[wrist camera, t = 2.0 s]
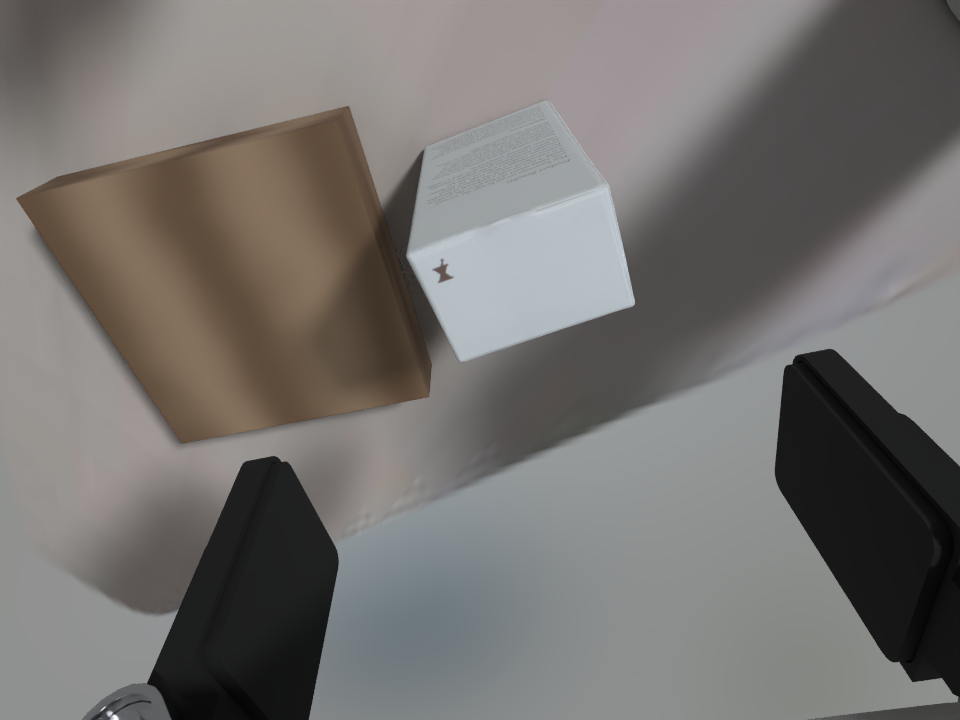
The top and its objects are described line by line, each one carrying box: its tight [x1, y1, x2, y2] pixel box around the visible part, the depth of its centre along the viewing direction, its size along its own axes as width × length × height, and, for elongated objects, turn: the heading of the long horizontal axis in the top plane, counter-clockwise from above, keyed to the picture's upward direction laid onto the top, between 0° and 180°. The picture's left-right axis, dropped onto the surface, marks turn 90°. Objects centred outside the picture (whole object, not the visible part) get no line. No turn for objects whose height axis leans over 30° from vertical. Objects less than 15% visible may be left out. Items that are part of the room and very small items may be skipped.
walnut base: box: [16, 106, 432, 443], centre depth 29 cm, size 14×14×3 cm
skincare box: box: [406, 100, 635, 362], centre depth 22 cm, size 6×4×12 cm
